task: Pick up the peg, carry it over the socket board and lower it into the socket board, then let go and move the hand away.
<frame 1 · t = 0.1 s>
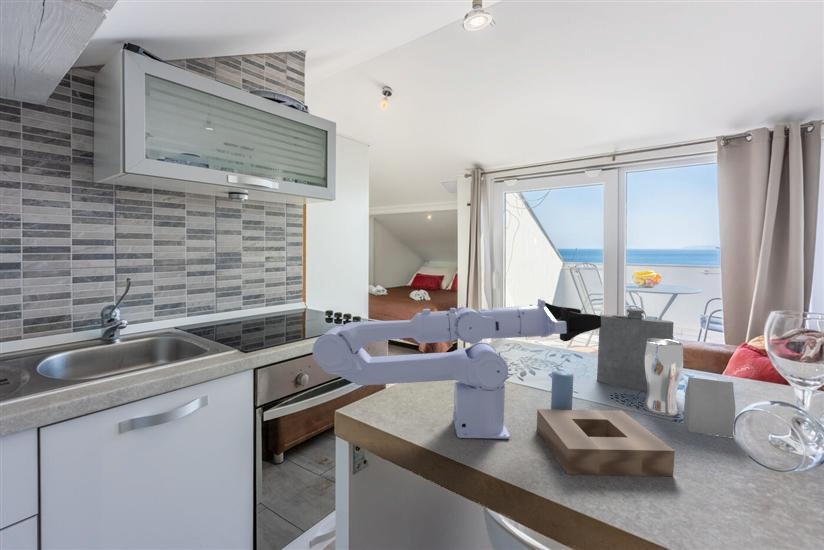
hand: (589, 317, 68), 22 cm above the counter, tool horizontal, fingers open, 7 cm apart
silver metal tumbler: (660, 411, 79), on the counter
peg: (561, 416, 75), on the counter
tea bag: (707, 431, 70), on the counter
hip flask: (631, 387, 93), on the counter
socket board: (597, 450, 62), on the counter
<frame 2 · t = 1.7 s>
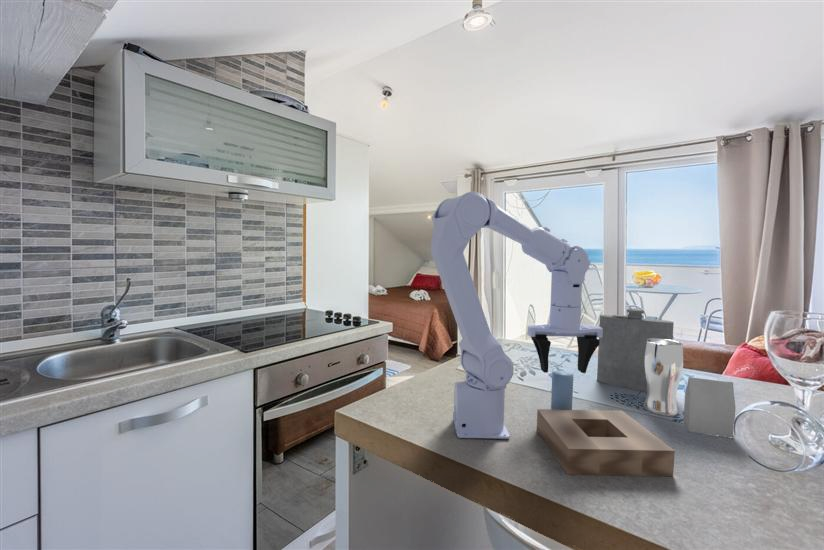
hand: (563, 371, 75), 9 cm above the counter, tool pointing down, fingers open, 7 cm apart
nothing on the counter moved.
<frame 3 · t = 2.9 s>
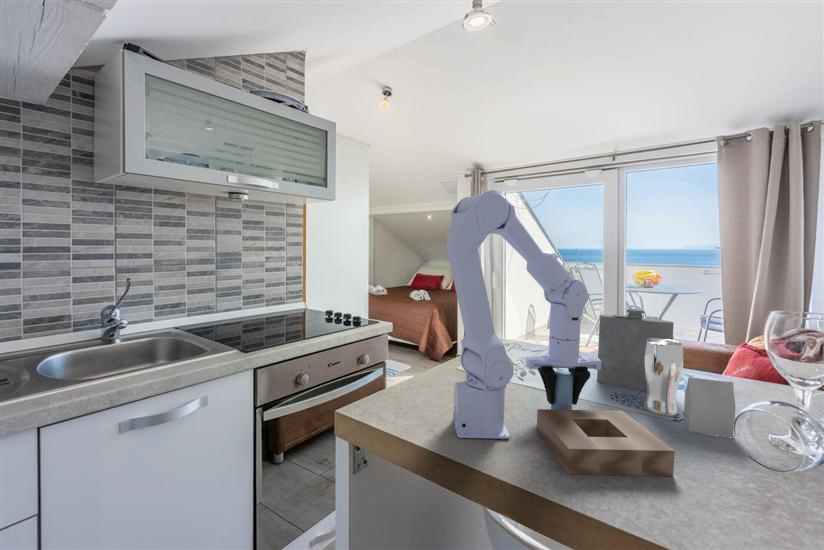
hand: (561, 402, 75), 3 cm above the counter, tool pointing down, fingers closed on peg, 4 cm apart
peg: (561, 416, 75), on the counter, touching gripper
everything else where it was.
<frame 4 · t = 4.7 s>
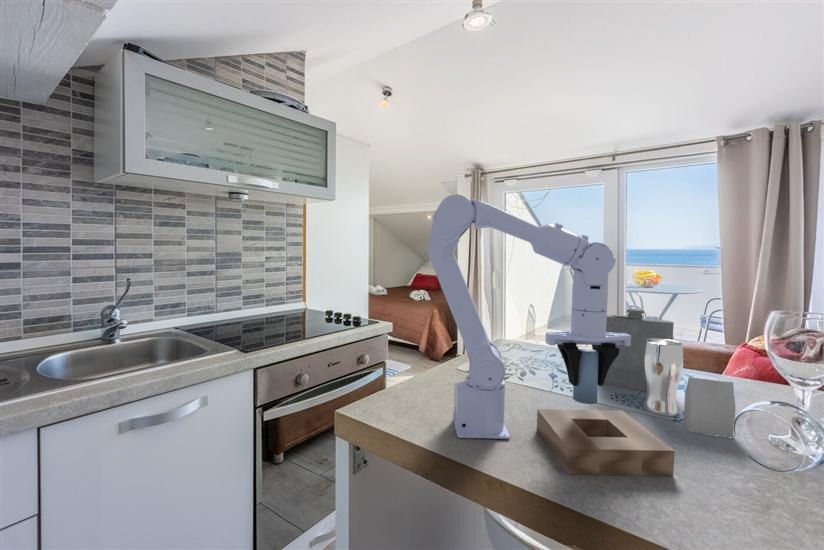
hand: (585, 384, 66), 10 cm above the counter, tool pointing down, fingers closed on peg, 4 cm apart
peg: (584, 399, 67), point 7 cm above the counter, touching gripper
everything else where it was.
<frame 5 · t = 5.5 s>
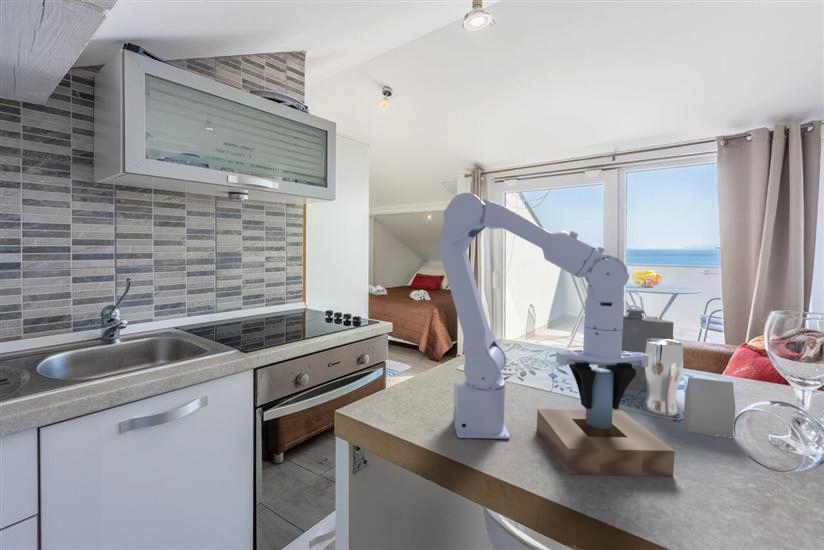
hand: (599, 406, 62), 8 cm above the counter, tool pointing down, fingers closed on peg, 4 cm apart
peg: (598, 423, 62), point 5 cm above the counter, touching gripper
everything else where it was.
when the fingers open (5 cm above the counter, at t = 6.4 s): peg drops 2 cm, resting in socket board.
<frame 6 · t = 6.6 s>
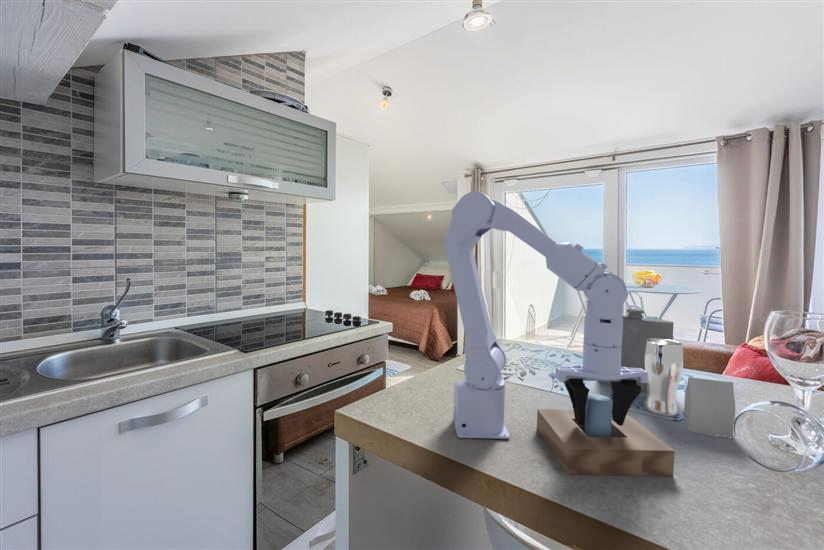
hand: (598, 422, 62), 5 cm above the counter, tool pointing down, fingers open, 6 cm apart
peg: (597, 450, 63), resting in socket board
everything else where it was.
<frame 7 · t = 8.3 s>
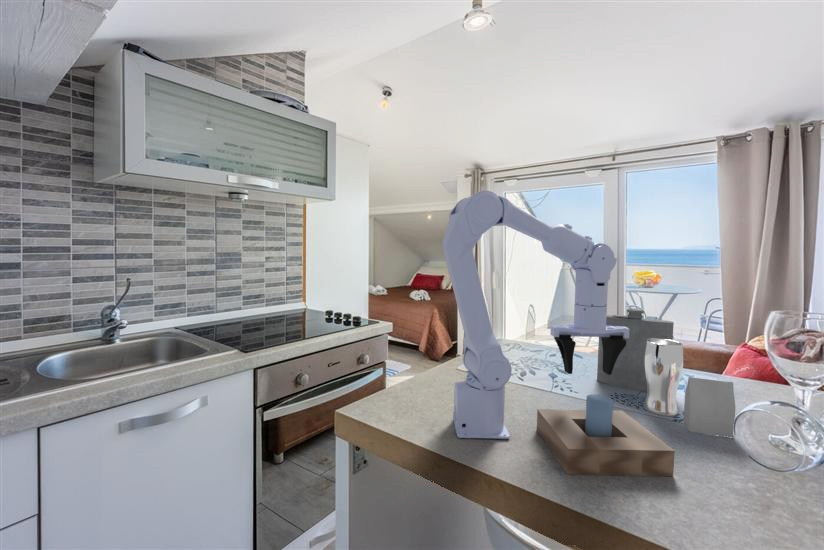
hand: (587, 372, 73), 10 cm above the counter, tool pointing down, fingers open, 7 cm apart
nothing on the counter moved.
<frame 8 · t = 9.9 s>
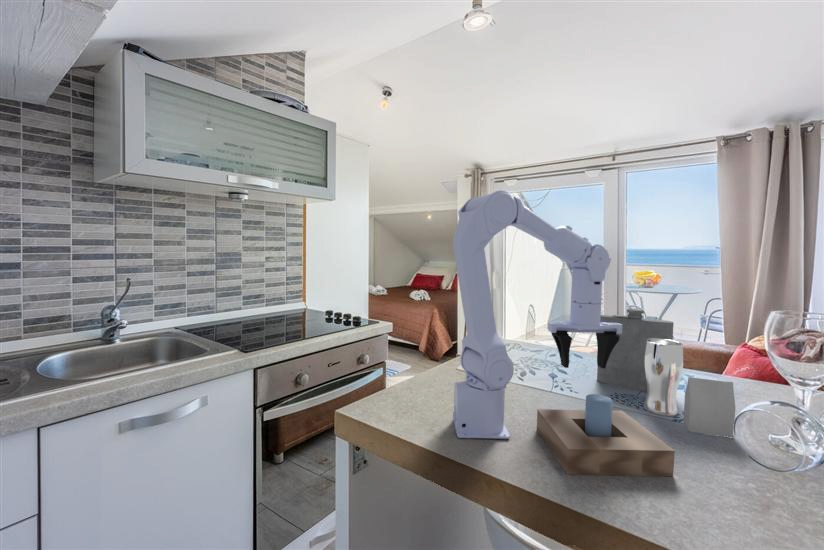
hand: (583, 366, 77), 10 cm above the counter, tool pointing down, fingers open, 7 cm apart
nothing on the counter moved.
at the end: peg 0.1 cm off-centre on the socket board, point 0.0 cm above the socket board's base; peg tilted 1°; the gripper is holding nothing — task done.
